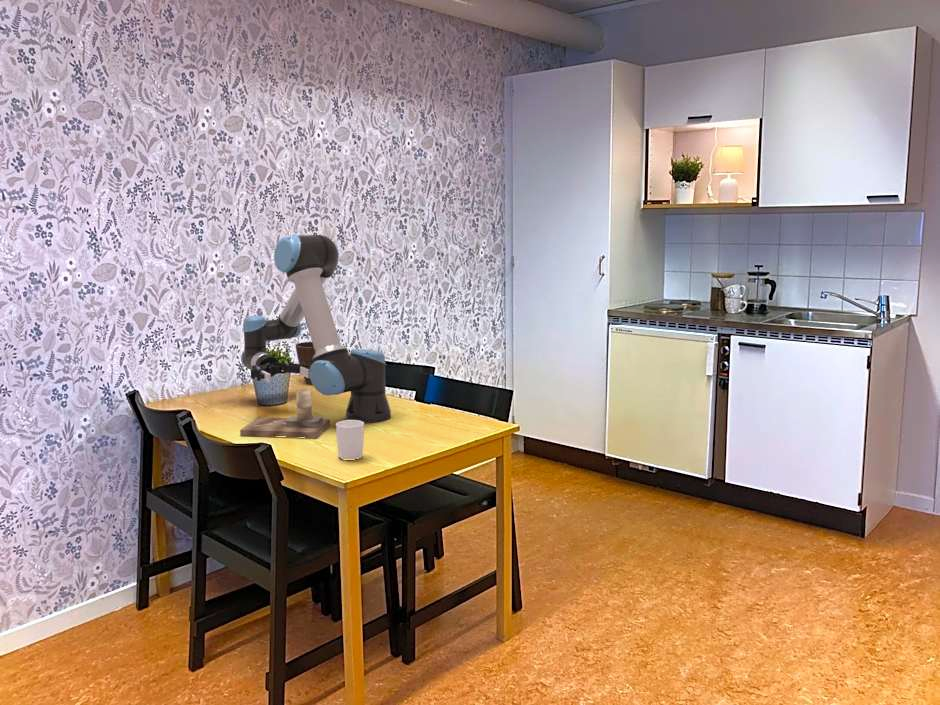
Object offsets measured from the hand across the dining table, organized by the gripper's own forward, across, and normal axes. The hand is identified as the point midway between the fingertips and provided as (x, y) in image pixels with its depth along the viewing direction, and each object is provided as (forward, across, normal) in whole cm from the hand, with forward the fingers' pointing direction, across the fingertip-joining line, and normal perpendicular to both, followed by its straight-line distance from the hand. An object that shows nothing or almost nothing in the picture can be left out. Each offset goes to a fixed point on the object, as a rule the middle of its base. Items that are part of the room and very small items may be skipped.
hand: (289, 376), depth 263 cm
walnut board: (+9, +5, -15) cm, 19 cm away
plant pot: (-52, -33, -16) cm, 64 cm away
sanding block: (+13, 0, -13) cm, 18 cm away
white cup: (+46, +1, -15) cm, 48 cm away
